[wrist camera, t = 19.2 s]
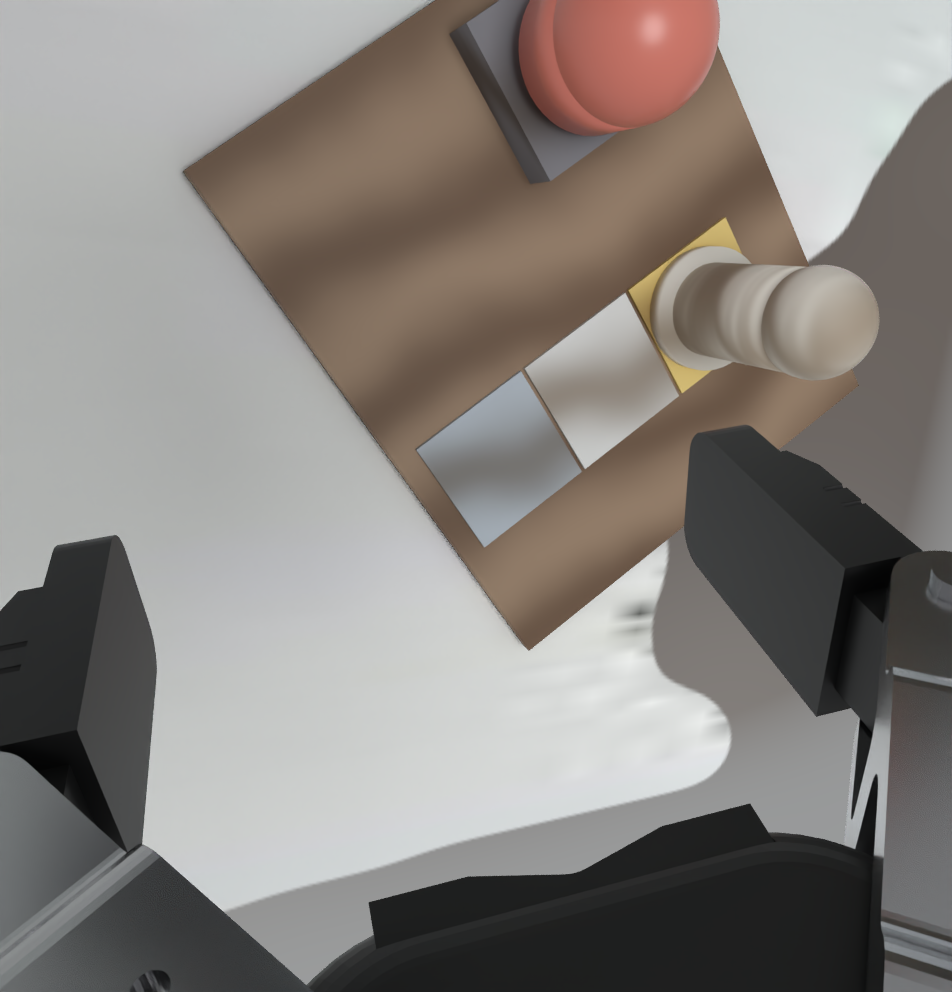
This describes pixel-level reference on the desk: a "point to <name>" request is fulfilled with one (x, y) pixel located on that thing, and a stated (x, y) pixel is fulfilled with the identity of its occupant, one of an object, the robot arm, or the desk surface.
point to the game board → (510, 293)
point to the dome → (615, 59)
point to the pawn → (762, 315)
